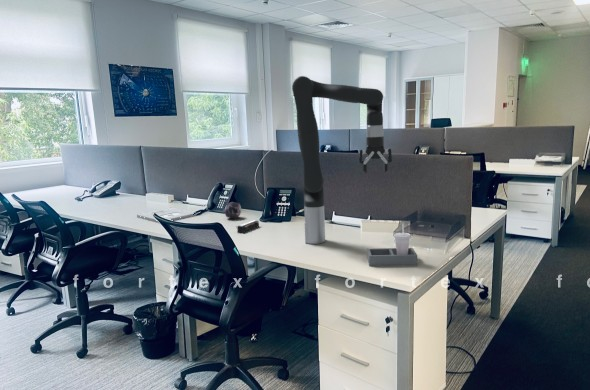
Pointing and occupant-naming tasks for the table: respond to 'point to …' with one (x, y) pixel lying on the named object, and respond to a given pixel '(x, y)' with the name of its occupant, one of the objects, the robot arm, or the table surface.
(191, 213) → the award plaque
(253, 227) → the dark brown flat block
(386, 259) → the caddy
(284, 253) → the table surface
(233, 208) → the mineral specimen
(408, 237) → the smoothie
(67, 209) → the table surface
